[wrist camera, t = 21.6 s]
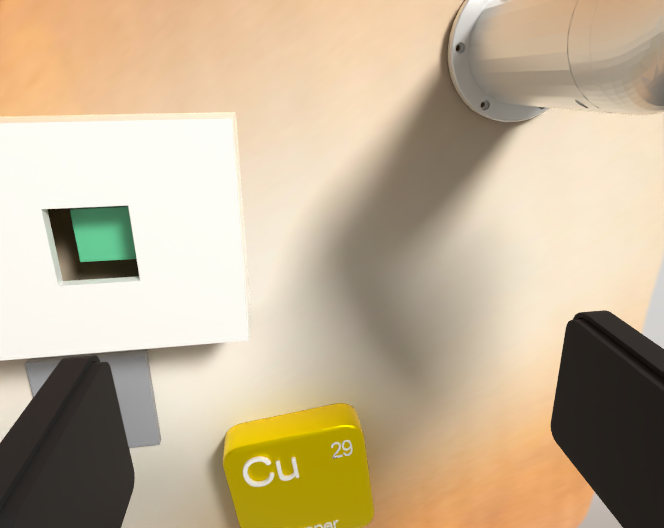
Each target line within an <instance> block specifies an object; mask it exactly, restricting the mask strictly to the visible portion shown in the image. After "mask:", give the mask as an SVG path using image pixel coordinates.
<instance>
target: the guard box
mask: <svg viewBox="0 0 664 528" xmlns="http://www.w3.org/2000/svg"><path fill="white" fill-rule="evenodd" d="M106 206H128V207H129V214H130V220H131V226H132V233H133V239H134V245H135V252H136V258H137V264H138V270H139V276H138V277H121V278H105V279H89V280H73V281H63V279H62V274H61V270H60V265H59V261H58V256H57V251H56V247H55V242H54V238H53V233H52V228H51V224H50V219H49V215H48V210H47V209H59V208H82V207H106ZM249 330H250V295H249V281H248V268H247V255H246V241H245V228H244V215H243V201H242V188H241V175H240V161H239V148H238V135H237V121H236V112H214V113H161V114H109V115H56V116H4V117H0V361H2V360H14V359H26V358H39V357H51V356H63V355H76V354H88V353H100V352H113V351H125V350H138V349H150V348H162V347H175V346H187V345H199V344H212V343H224V342H236V341H249Z"/></svg>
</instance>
